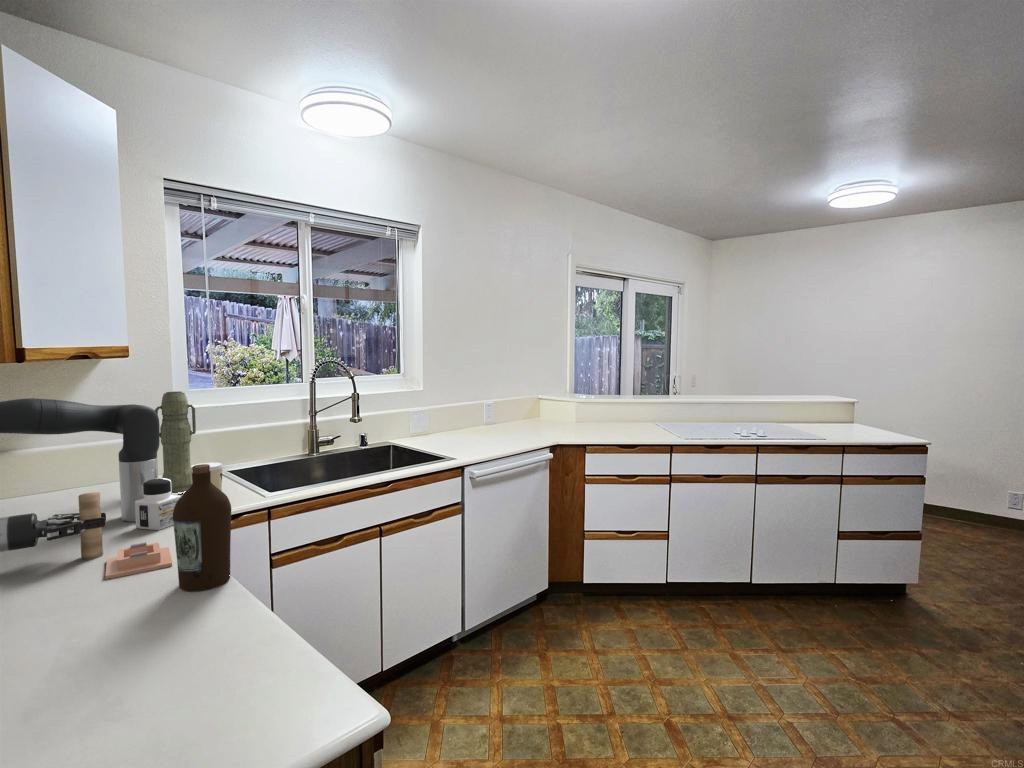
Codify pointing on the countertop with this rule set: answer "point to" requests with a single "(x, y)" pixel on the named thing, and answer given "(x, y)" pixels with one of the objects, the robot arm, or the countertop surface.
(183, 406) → the thermos
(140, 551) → the clip base
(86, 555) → the tall wooden cylinder
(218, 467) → the coffee cup
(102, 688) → the countertop surface
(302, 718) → the countertop surface
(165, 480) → the container
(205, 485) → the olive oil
